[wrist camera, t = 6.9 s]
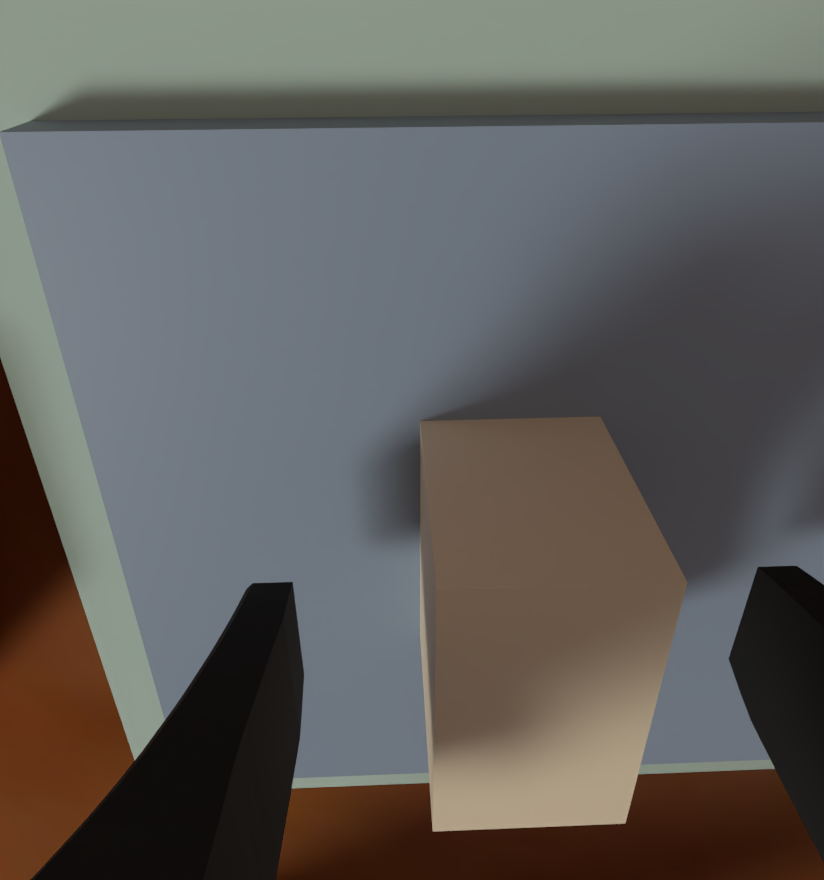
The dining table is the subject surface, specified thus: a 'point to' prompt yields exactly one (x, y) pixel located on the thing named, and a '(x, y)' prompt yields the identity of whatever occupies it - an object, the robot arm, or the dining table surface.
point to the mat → (336, 95)
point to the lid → (453, 420)
